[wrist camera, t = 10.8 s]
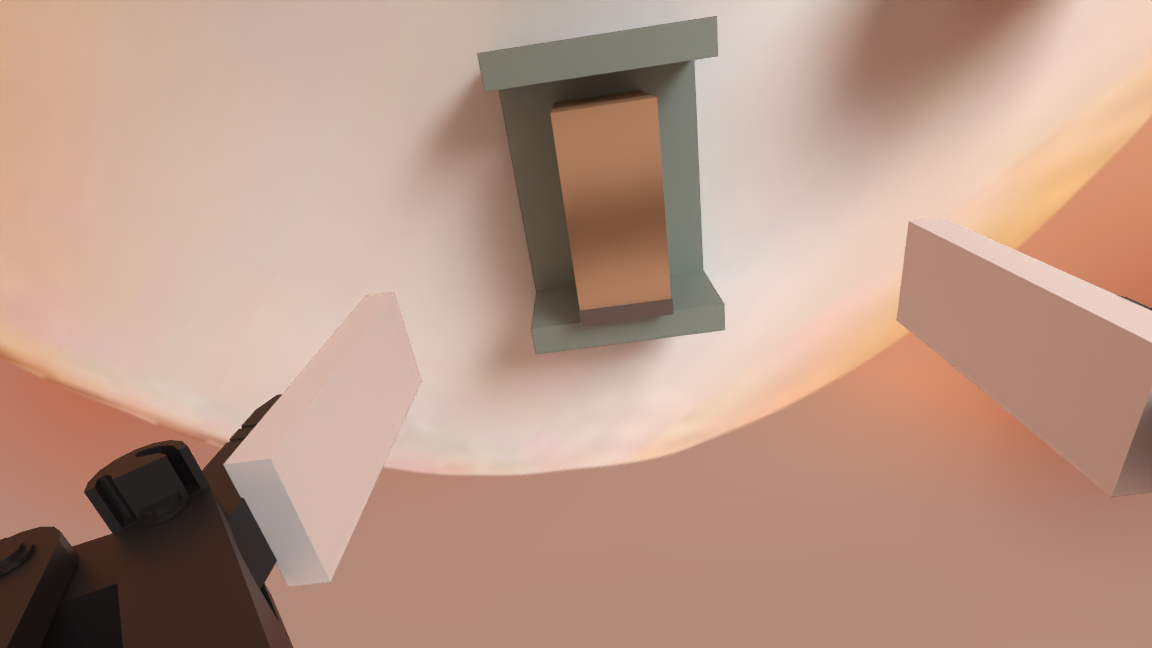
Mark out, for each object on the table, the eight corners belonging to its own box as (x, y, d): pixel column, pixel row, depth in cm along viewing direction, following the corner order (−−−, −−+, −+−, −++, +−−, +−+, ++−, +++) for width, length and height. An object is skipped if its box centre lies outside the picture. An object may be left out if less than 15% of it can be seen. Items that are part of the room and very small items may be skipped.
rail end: (553, 102, 29) (549, 113, 23) (641, 89, 29) (658, 97, 23) (579, 281, 33) (581, 326, 28) (656, 271, 33) (673, 314, 27)
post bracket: (494, 54, 29) (477, 53, 23) (688, 23, 28) (716, 15, 23) (541, 308, 35) (535, 354, 30) (700, 286, 34) (724, 329, 29)
